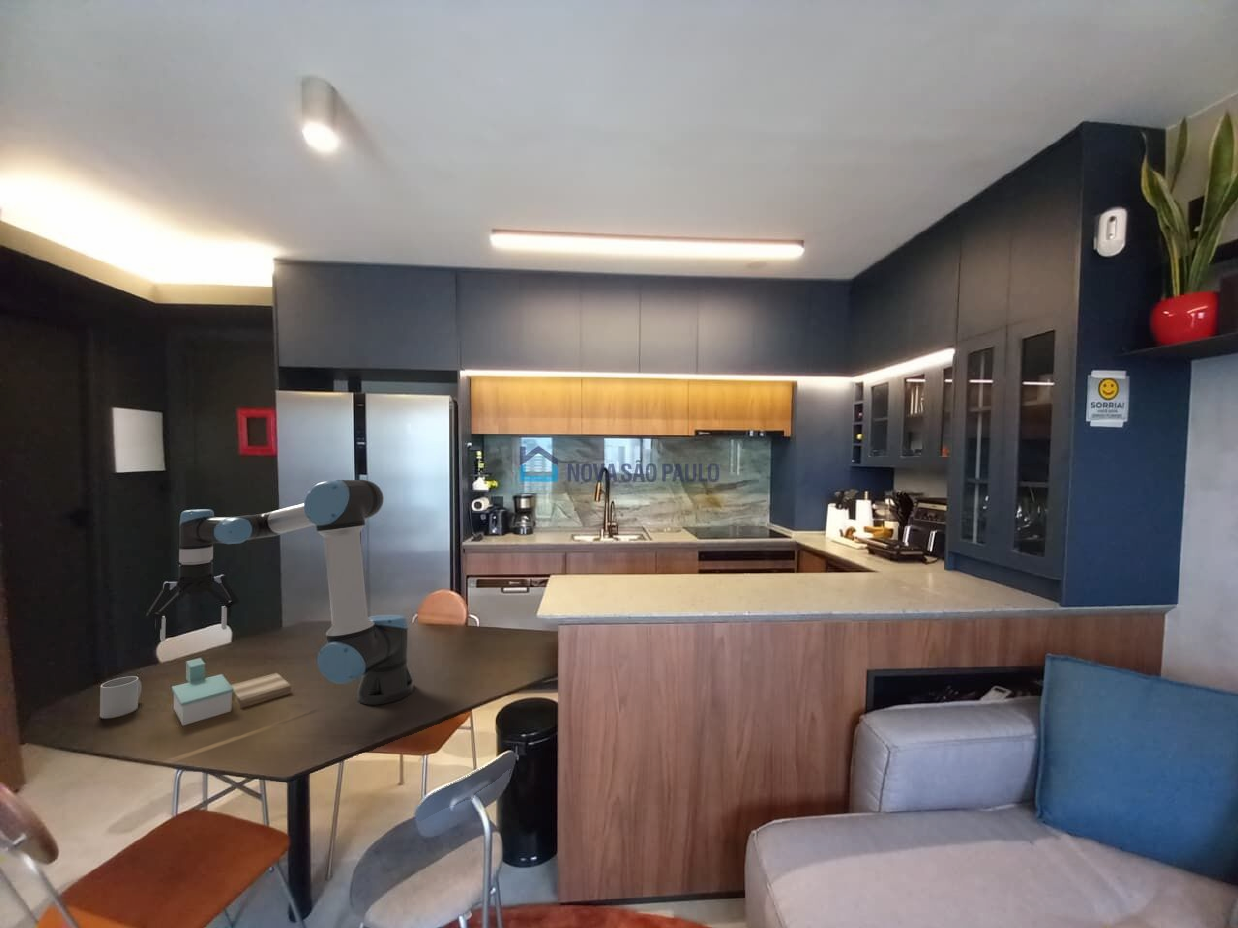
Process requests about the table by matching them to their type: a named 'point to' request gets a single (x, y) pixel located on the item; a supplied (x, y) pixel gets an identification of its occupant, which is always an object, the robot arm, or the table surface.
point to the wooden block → (260, 689)
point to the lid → (200, 684)
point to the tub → (203, 708)
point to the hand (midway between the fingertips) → (194, 634)
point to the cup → (119, 696)
